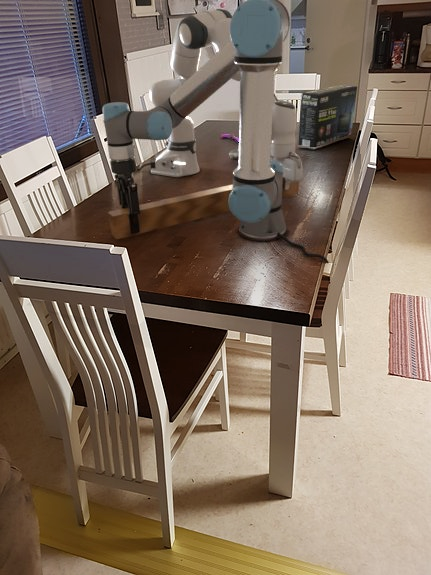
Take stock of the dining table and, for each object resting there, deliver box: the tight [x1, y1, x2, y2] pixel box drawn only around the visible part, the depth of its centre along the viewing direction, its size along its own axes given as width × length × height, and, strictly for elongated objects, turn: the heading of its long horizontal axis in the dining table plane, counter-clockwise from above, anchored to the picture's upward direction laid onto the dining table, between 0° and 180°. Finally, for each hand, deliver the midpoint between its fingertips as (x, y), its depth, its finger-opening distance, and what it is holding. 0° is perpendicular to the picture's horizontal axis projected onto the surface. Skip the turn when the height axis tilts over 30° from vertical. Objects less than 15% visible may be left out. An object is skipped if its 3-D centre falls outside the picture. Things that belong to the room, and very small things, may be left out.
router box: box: [297, 84, 358, 151], centre depth 238 cm, size 36×11×27 cm, turn 134°
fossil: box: [228, 147, 239, 160], centre depth 224 cm, size 18×11×15 cm
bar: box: [107, 178, 300, 240], centre depth 160 cm, size 73×4×8 cm, turn 120°
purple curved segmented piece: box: [220, 133, 239, 143], centre depth 256 cm, size 21×8×2 cm, turn 11°
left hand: (281, 186), depth 172 cm, fingers closed on bar, 4 cm apart
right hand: (132, 230), depth 149 cm, fingers closed on bar, 5 cm apart
